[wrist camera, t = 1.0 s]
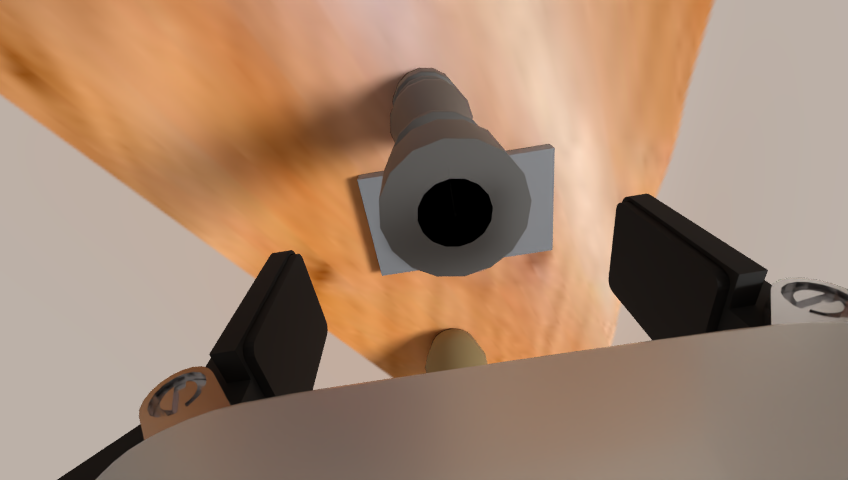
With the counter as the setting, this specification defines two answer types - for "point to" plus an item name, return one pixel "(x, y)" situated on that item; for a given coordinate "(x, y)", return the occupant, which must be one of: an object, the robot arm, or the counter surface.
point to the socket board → (540, 222)
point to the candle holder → (448, 183)
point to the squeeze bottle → (454, 352)
